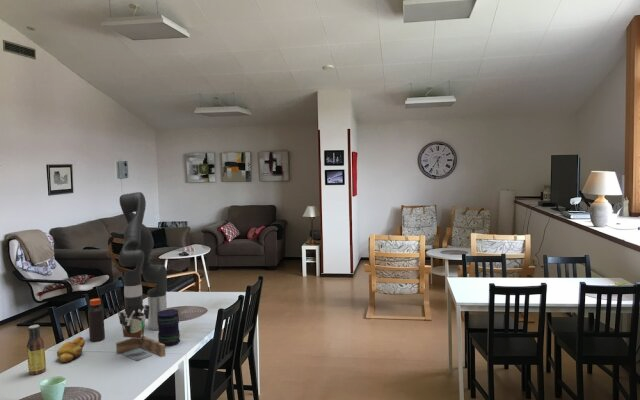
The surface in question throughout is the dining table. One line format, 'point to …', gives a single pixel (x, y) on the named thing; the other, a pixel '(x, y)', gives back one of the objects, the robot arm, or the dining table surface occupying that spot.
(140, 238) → the robot arm
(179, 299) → the dining table surface
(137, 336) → the food container
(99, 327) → the vinegar
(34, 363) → the sauce bottle
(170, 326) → the rusty blue oil drum
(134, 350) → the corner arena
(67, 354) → the bread roll
